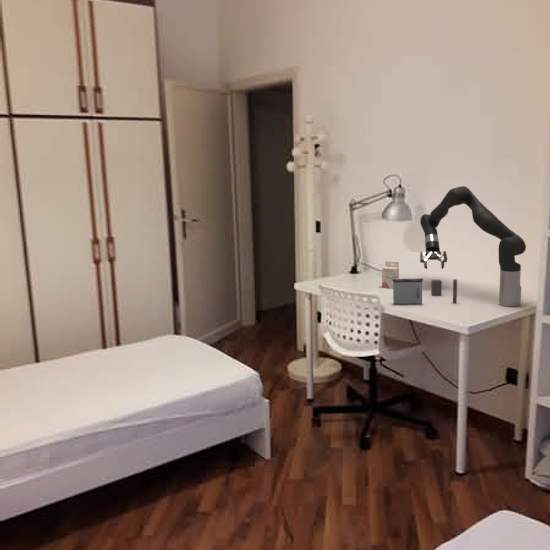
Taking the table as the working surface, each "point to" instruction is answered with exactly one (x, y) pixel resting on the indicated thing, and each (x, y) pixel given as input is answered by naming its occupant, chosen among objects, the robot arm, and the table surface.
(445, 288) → the table surface
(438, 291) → the block
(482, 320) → the table surface
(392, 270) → the ink cartridge box
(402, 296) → the grey block
